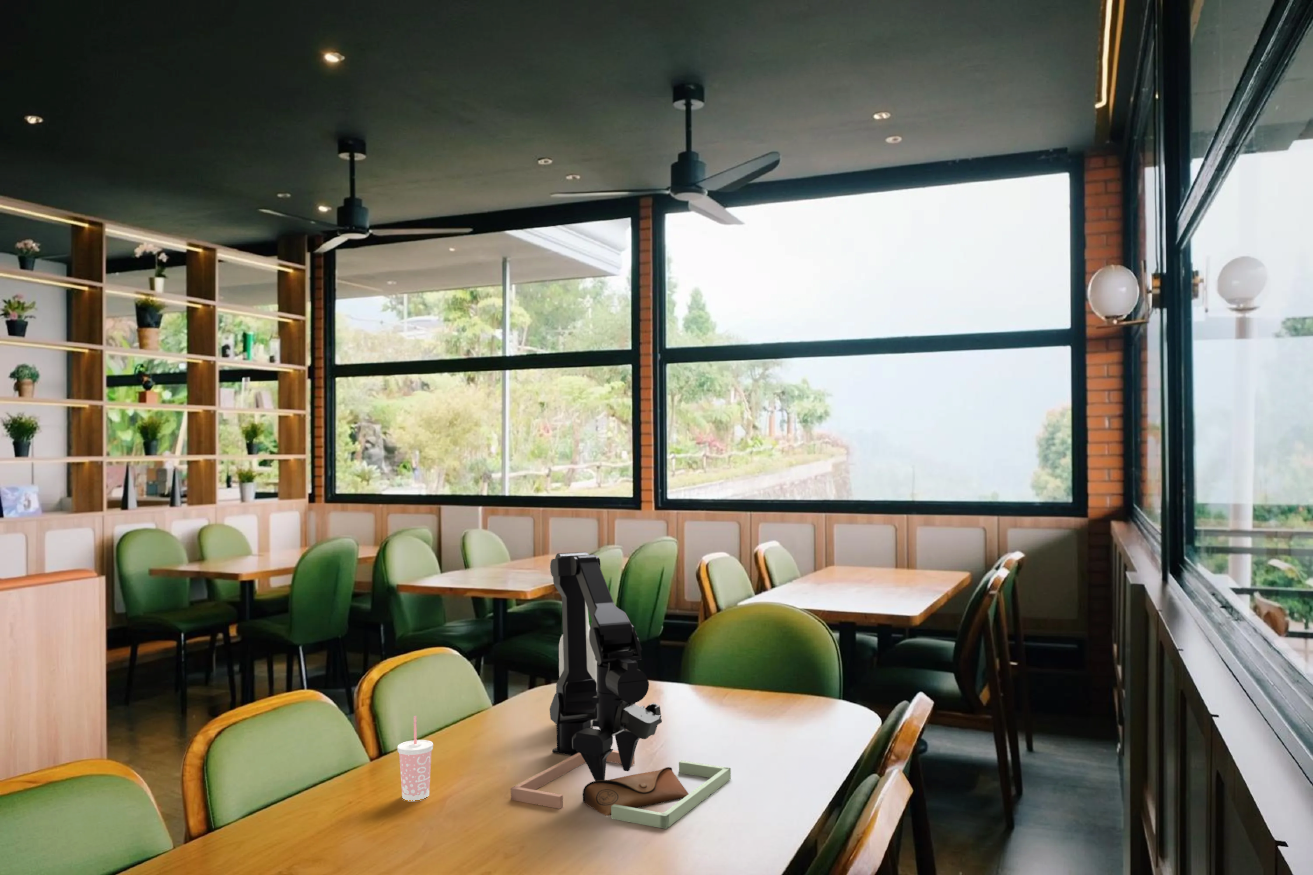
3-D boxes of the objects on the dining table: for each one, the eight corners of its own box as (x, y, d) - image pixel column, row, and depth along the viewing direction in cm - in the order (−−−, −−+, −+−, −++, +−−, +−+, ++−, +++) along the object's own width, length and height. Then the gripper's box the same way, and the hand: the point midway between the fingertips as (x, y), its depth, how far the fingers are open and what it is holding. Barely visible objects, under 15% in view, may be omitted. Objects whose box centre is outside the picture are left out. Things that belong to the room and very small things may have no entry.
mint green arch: (611, 818, 155) (611, 806, 155) (681, 771, 178) (681, 760, 178) (666, 828, 151) (665, 815, 151) (730, 778, 174) (730, 767, 174)
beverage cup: (401, 805, 162) (401, 722, 163) (394, 794, 168) (393, 714, 168) (437, 798, 165) (437, 717, 166) (428, 788, 171) (428, 709, 171)
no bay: (511, 799, 164) (510, 787, 165) (589, 756, 188) (589, 746, 188) (559, 808, 160) (559, 796, 160) (634, 763, 183) (634, 753, 183)
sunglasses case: (605, 817, 156) (595, 775, 159) (588, 827, 161) (579, 787, 164) (697, 796, 165) (686, 757, 168) (678, 806, 170) (668, 768, 173)
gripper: (626, 707, 158) (627, 802, 158) (676, 683, 175) (677, 769, 174) (569, 700, 164) (570, 791, 163) (623, 677, 180) (624, 761, 180)
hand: (613, 778), depth 170 cm, fingers open, 9 cm apart
